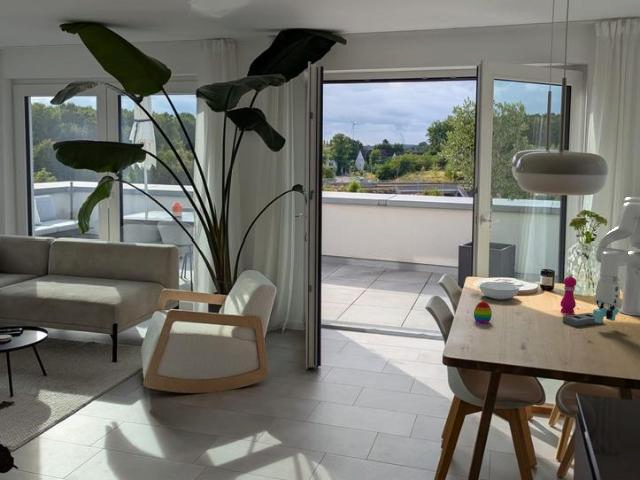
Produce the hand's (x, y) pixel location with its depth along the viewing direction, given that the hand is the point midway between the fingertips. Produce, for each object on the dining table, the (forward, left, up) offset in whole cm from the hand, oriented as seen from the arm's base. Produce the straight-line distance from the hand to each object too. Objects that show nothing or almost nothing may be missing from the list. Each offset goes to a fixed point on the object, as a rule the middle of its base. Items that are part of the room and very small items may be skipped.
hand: (605, 316), depth 302 cm
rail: (+1, -12, -6) cm, 13 cm away
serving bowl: (+5, -66, -6) cm, 66 cm away
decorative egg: (+46, -31, -6) cm, 55 cm away
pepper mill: (-6, -28, -6) cm, 29 cm away
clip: (0, 0, -2) cm, 2 cm away
